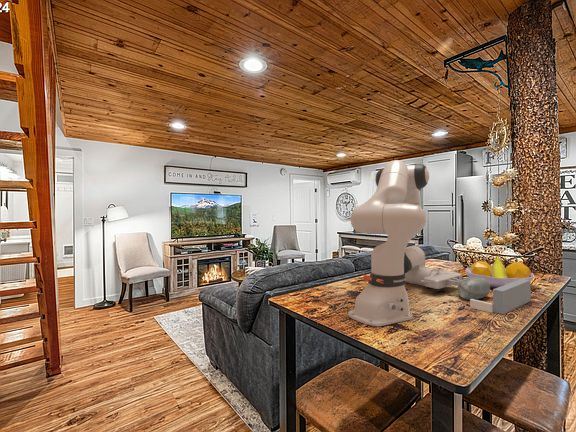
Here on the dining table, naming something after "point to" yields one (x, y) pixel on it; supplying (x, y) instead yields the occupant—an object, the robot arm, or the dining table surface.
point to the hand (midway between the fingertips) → (462, 283)
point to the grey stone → (473, 288)
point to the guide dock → (506, 298)
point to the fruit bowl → (500, 272)
